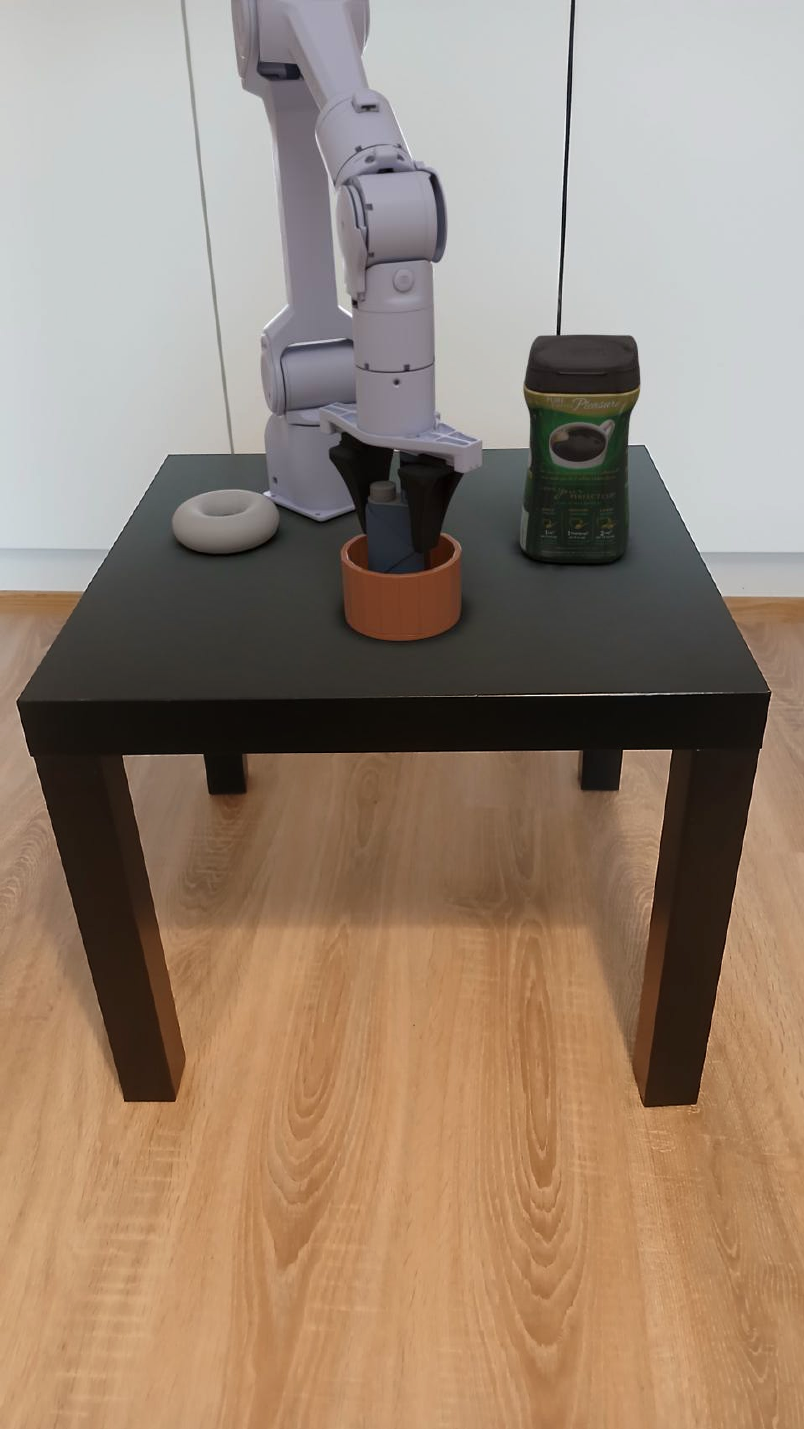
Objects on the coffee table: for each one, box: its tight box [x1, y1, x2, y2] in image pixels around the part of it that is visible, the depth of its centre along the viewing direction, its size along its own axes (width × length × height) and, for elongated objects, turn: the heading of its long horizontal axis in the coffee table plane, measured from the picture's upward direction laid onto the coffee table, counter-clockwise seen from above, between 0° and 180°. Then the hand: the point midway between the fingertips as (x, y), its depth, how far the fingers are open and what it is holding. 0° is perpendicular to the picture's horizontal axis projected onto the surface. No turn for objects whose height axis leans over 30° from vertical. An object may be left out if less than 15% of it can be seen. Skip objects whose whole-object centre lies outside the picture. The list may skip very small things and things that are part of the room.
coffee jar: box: [519, 334, 642, 564], centre depth 90 cm, size 10×8×19 cm
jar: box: [340, 531, 463, 642], centre depth 84 cm, size 9×9×6 cm
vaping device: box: [365, 451, 430, 574], centre depth 81 cm, size 3×5×12 cm, turn 75°
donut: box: [171, 489, 281, 555], centre depth 98 cm, size 10×4×10 cm
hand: (400, 539), depth 82 cm, fingers closed on vaping device, 5 cm apart
